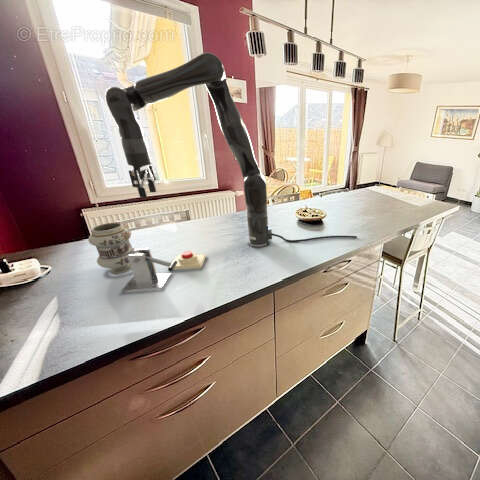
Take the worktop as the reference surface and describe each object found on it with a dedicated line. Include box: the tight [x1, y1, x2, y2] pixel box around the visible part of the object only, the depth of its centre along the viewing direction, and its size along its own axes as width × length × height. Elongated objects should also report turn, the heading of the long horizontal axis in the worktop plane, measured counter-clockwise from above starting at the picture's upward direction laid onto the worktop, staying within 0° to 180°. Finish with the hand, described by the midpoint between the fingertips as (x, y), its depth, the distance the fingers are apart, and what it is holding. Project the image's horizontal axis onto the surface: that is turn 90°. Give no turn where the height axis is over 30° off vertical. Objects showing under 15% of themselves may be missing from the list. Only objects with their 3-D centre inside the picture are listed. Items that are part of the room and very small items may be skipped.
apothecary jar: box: [88, 222, 135, 274], centre depth 88 cm, size 12×12×18 cm
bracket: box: [121, 247, 172, 292], centre depth 82 cm, size 12×9×13 cm
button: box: [181, 250, 193, 259], centre depth 96 cm, size 4×4×2 cm
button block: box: [173, 251, 207, 270], centre depth 97 cm, size 11×9×4 cm
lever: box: [135, 251, 178, 272], centre depth 82 cm, size 12×5×2 cm, turn 102°
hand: (148, 194), depth 96 cm, fingers open, 8 cm apart
